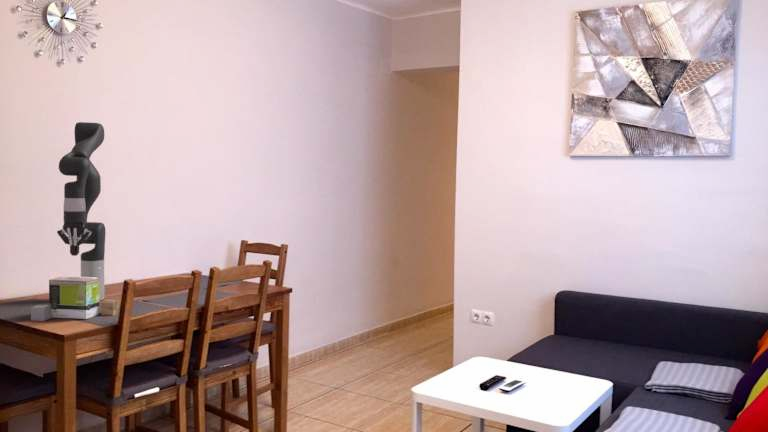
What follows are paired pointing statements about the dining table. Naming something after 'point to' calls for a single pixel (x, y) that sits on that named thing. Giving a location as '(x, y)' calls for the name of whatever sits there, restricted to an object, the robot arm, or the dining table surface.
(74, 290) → the tea box
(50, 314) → the slate block
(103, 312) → the brown box
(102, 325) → the dining table surface
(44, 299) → the dining table surface
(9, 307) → the dining table surface
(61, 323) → the dining table surface
